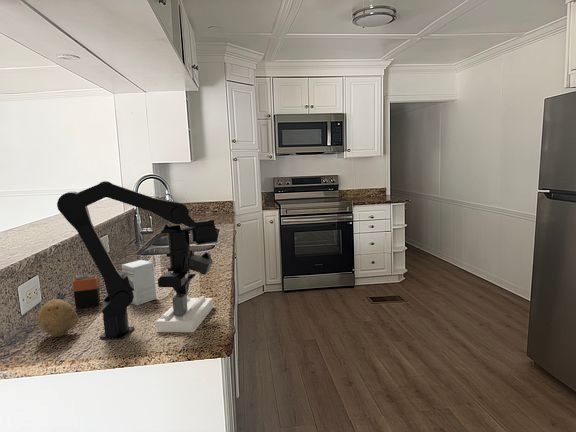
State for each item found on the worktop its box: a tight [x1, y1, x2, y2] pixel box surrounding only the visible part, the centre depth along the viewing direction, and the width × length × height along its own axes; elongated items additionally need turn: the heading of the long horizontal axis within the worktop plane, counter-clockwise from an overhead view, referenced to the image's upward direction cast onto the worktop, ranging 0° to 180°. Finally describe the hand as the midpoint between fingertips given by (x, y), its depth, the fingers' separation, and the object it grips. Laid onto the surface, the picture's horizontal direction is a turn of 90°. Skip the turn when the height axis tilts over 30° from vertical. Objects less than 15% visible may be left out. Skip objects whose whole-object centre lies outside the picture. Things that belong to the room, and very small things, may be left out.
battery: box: [72, 274, 101, 309], centre depth 131 cm, size 4×7×10 cm, turn 108°
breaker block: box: [155, 295, 214, 333], centre depth 115 cm, size 18×10×4 cm, turn 174°
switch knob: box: [171, 293, 188, 315], centre depth 111 cm, size 3×3×5 cm
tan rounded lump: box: [36, 298, 79, 338], centre depth 107 cm, size 9×9×10 cm
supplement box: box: [121, 259, 158, 306], centre depth 133 cm, size 7×7×13 cm
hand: (184, 301), depth 114 cm, fingers closed
